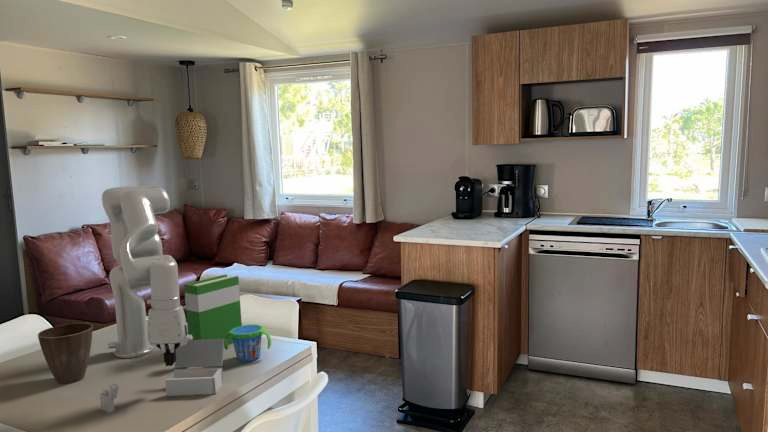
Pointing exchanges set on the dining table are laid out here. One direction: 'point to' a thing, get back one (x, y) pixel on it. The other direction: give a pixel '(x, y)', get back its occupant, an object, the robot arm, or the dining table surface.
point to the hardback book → (213, 307)
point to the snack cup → (247, 341)
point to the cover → (200, 353)
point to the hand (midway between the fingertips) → (170, 364)
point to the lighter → (109, 398)
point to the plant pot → (67, 350)
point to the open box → (194, 381)
